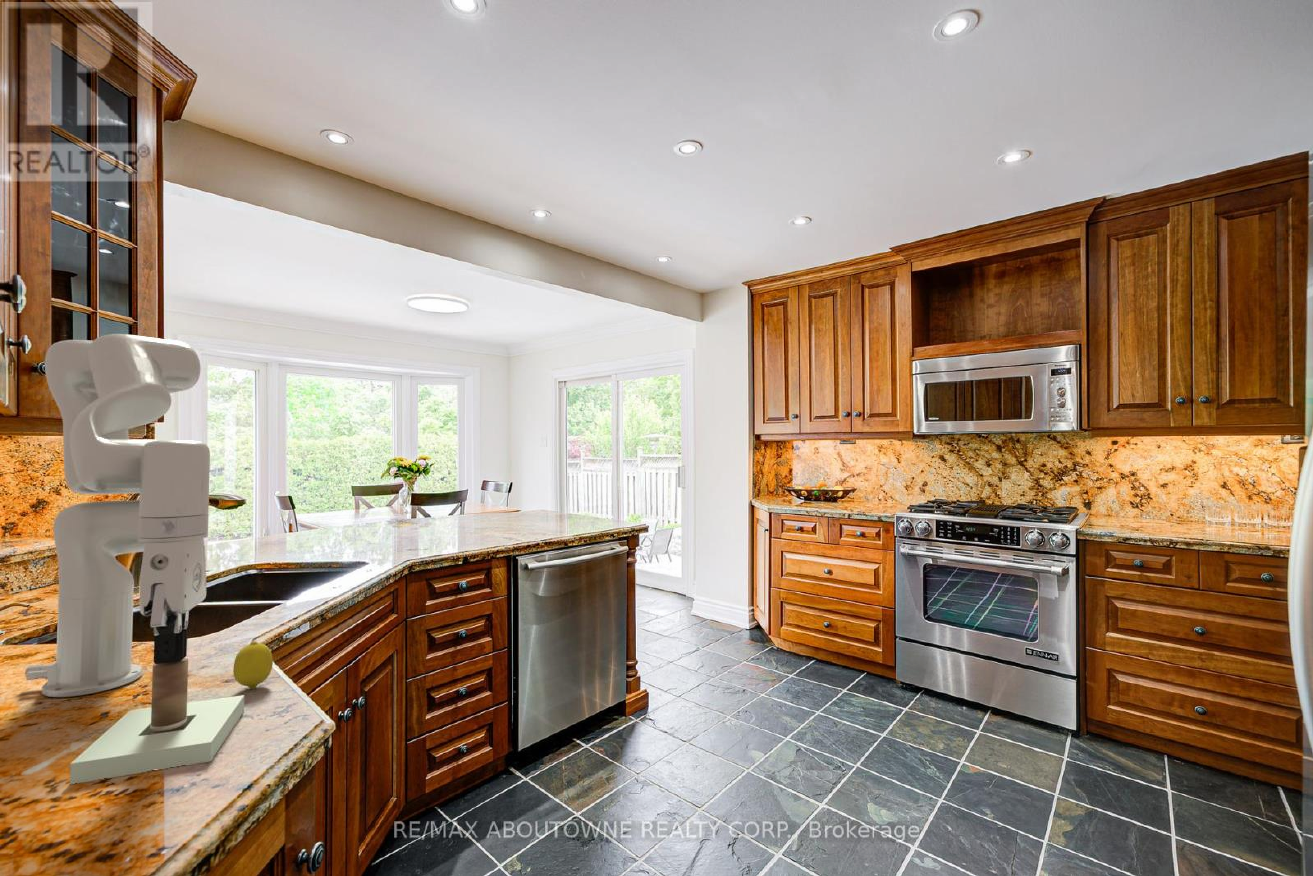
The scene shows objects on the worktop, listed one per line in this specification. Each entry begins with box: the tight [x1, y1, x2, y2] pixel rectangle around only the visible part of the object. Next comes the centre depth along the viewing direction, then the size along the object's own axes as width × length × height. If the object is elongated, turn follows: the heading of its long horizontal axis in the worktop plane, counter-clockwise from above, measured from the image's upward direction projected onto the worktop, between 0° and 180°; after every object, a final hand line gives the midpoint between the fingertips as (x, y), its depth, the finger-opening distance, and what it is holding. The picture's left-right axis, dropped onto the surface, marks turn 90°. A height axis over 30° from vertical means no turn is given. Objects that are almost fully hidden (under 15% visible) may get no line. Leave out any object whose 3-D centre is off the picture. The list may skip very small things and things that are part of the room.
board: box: [69, 694, 245, 785], centre depth 80 cm, size 14×16×2 cm
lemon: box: [233, 640, 274, 690], centre depth 99 cm, size 6×6×8 cm
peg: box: [150, 657, 189, 734], centre depth 80 cm, size 4×4×11 cm
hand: (170, 660), depth 80 cm, fingers closed
